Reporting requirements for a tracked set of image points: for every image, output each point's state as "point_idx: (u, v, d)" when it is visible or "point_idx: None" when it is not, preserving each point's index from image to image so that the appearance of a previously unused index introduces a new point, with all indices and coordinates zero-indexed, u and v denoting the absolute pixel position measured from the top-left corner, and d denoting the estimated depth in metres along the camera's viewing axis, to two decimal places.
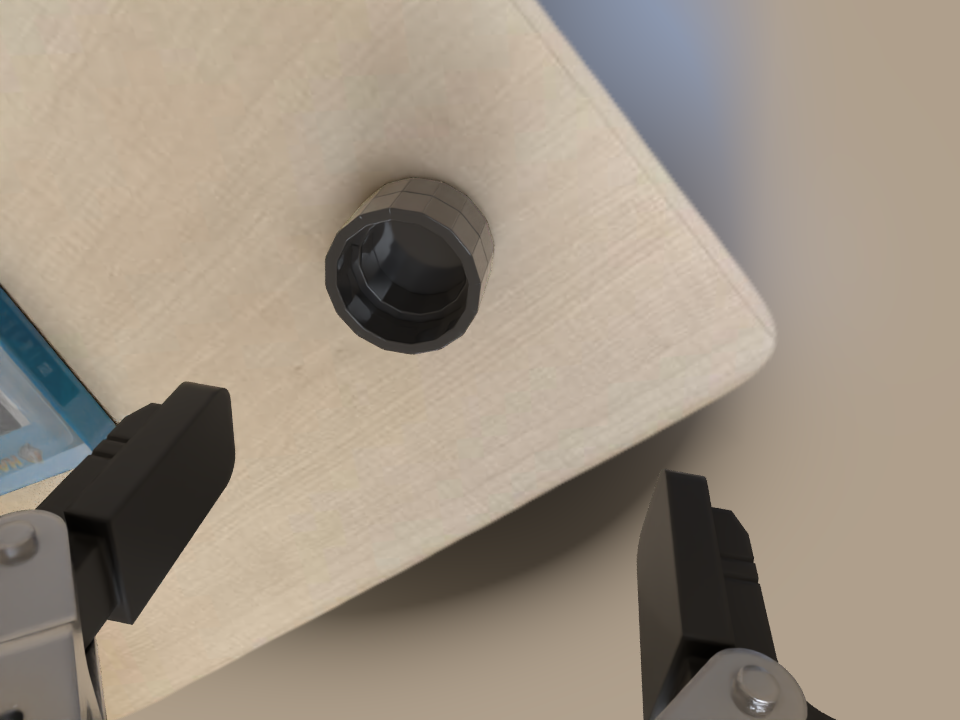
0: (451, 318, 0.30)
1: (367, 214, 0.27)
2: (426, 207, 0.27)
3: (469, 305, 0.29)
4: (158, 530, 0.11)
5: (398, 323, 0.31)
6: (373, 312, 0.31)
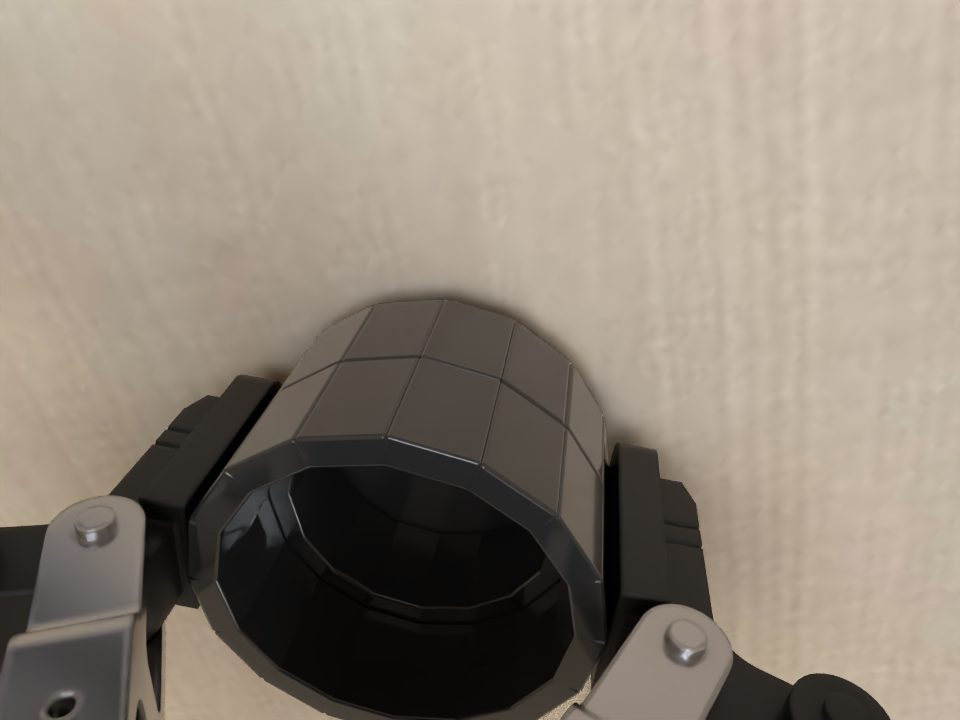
0: None
1: (189, 564, 0.11)
2: (246, 439, 0.10)
3: (524, 521, 0.09)
4: None
5: (525, 624, 0.13)
6: (469, 647, 0.13)
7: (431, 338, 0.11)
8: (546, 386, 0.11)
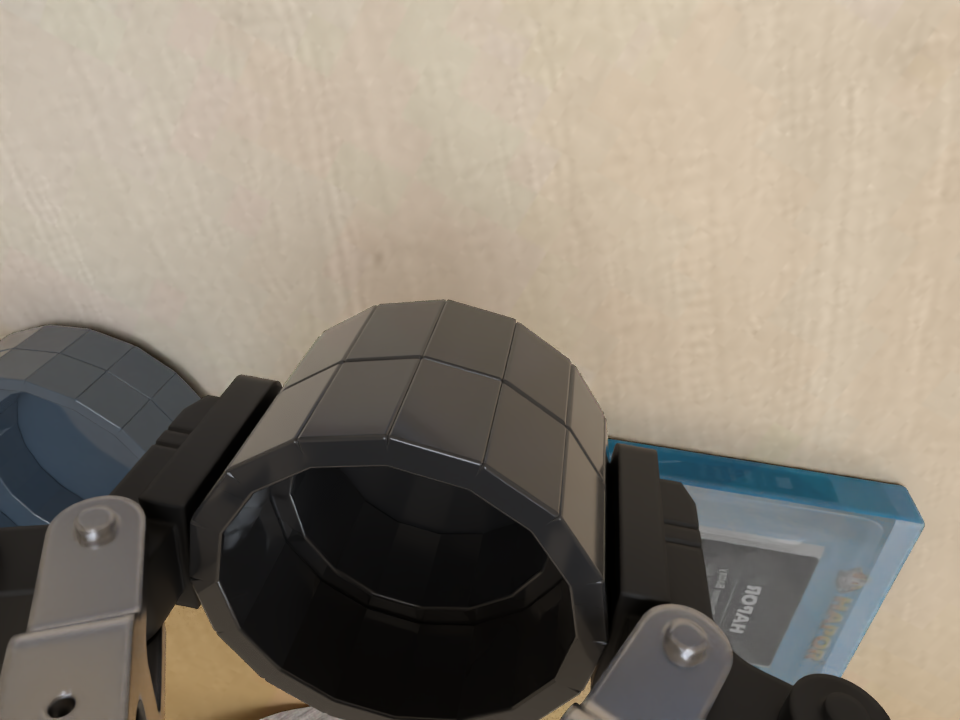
0: None
1: (190, 565, 0.11)
2: (248, 440, 0.10)
3: (526, 521, 0.09)
4: None
5: (526, 624, 0.13)
6: (470, 648, 0.13)
7: (432, 339, 0.11)
8: (547, 387, 0.11)
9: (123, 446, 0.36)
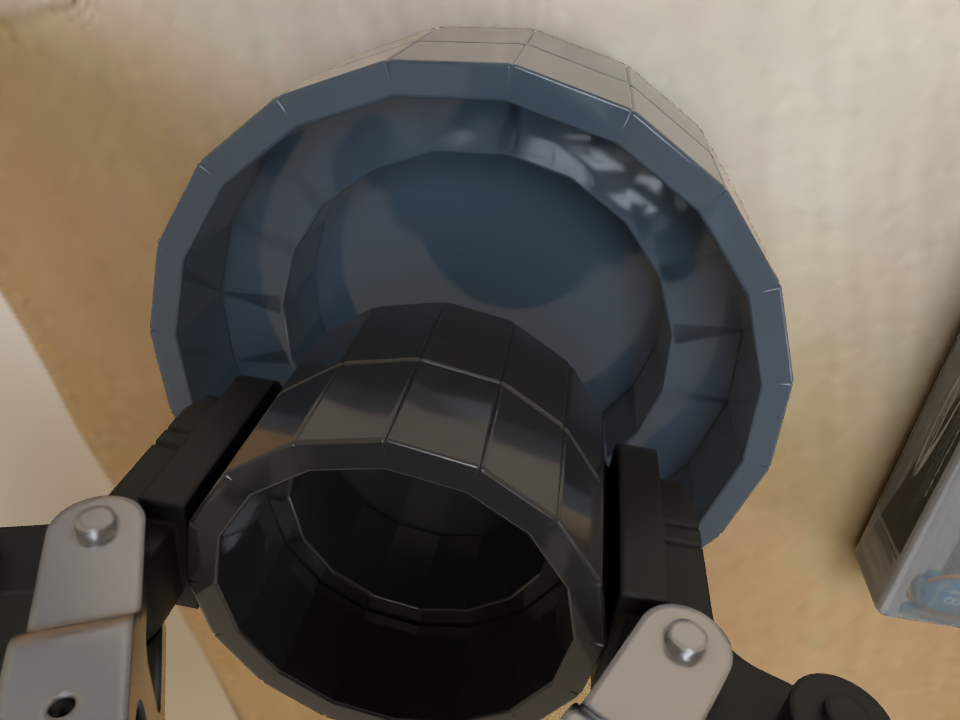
0: None
1: (189, 567, 0.11)
2: (246, 442, 0.10)
3: (524, 523, 0.09)
4: None
5: (524, 626, 0.13)
6: (468, 649, 0.13)
7: (431, 341, 0.11)
8: (545, 389, 0.11)
9: (520, 308, 0.19)
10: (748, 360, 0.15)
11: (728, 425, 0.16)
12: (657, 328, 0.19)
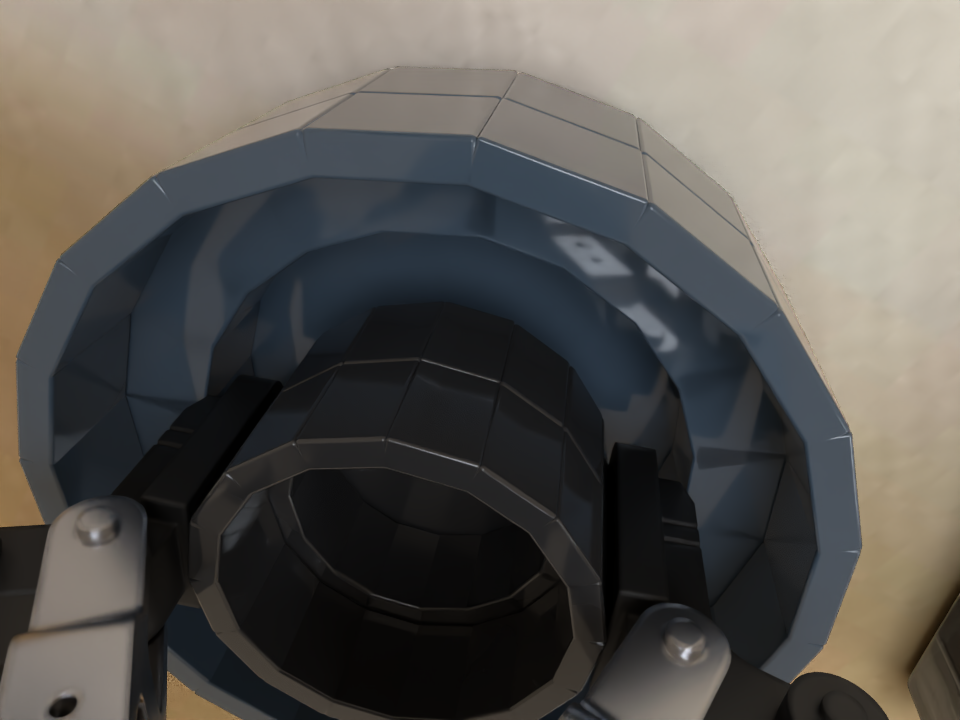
0: None
1: (189, 566, 0.11)
2: (247, 441, 0.10)
3: (524, 522, 0.09)
4: None
5: (524, 625, 0.13)
6: (468, 648, 0.13)
7: (431, 340, 0.11)
8: (546, 388, 0.11)
9: None
10: (796, 504, 0.12)
11: (766, 574, 0.13)
12: (672, 432, 0.15)
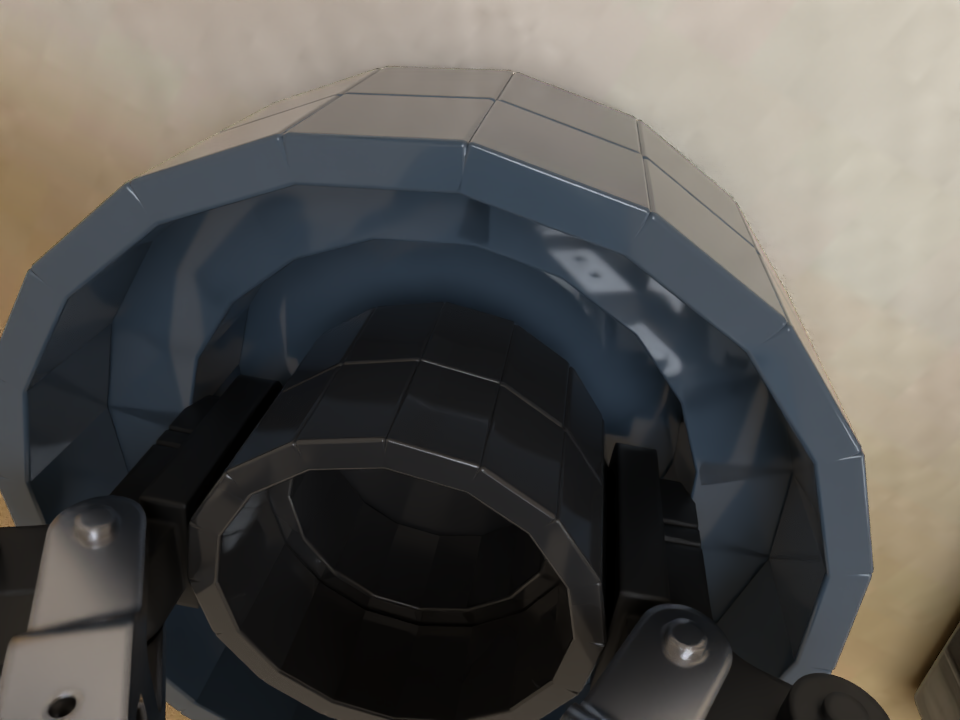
0: None
1: (189, 566, 0.11)
2: (246, 442, 0.10)
3: (524, 522, 0.09)
4: None
5: (524, 626, 0.13)
6: (468, 649, 0.13)
7: (431, 341, 0.11)
8: (545, 389, 0.11)
9: None
10: (803, 522, 0.11)
11: (772, 594, 0.12)
12: (674, 443, 0.15)
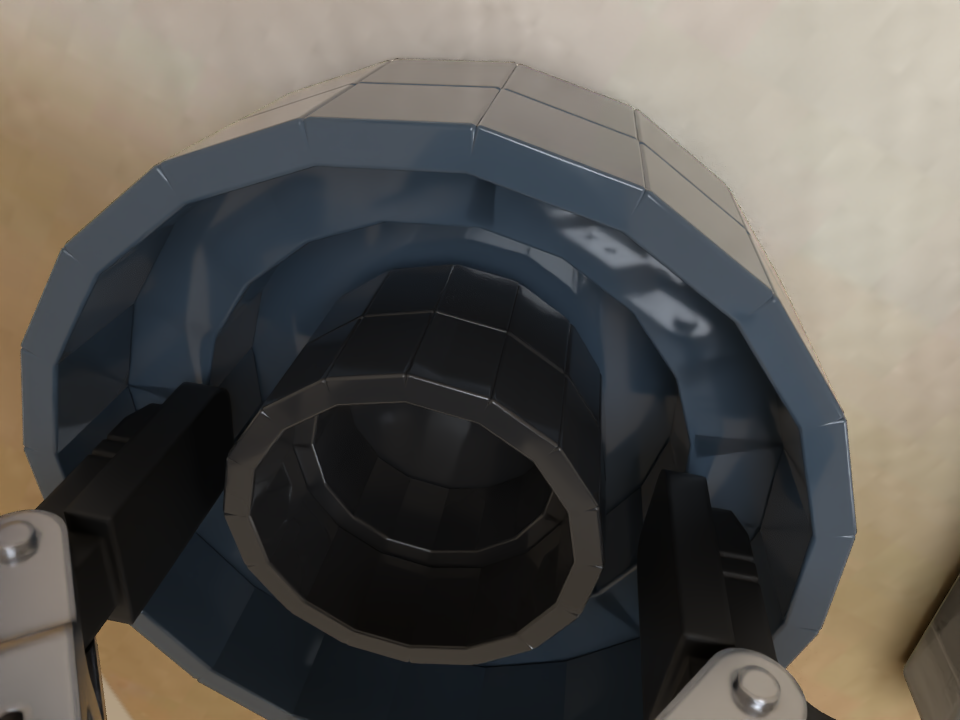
0: None
1: (225, 500, 0.12)
2: (278, 385, 0.11)
3: (529, 451, 0.10)
4: (158, 530, 0.11)
5: (529, 563, 0.14)
6: (477, 586, 0.14)
7: (443, 296, 0.12)
8: (548, 340, 0.12)
9: None
10: (792, 490, 0.12)
11: (763, 561, 0.13)
12: (670, 422, 0.15)
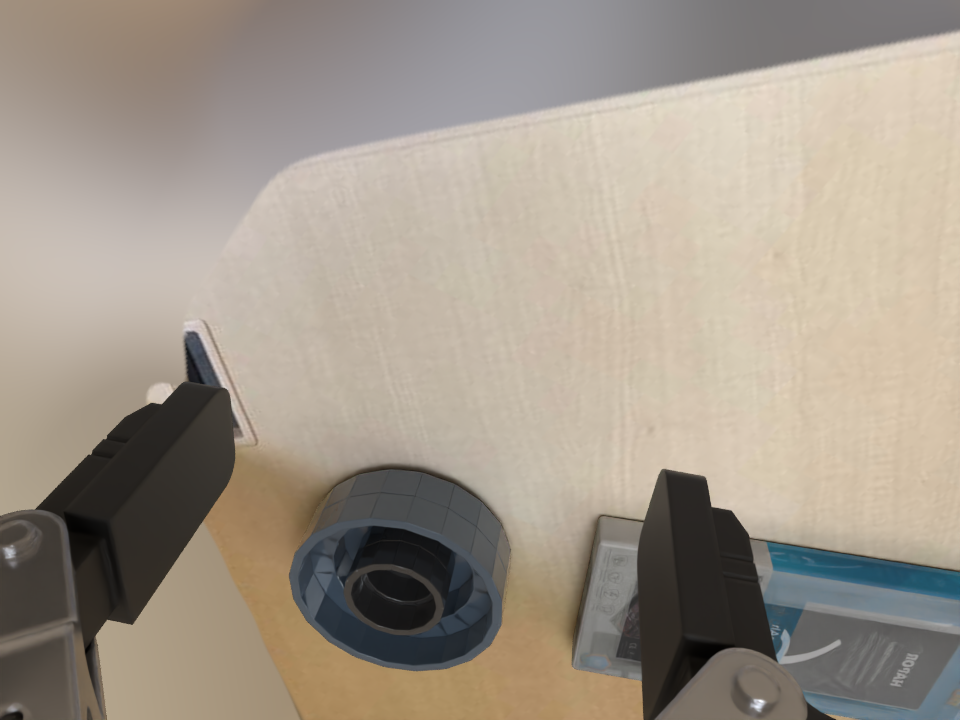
0: None
1: (344, 590, 0.44)
2: (359, 561, 0.44)
3: (422, 581, 0.43)
4: (157, 530, 0.11)
5: (429, 605, 0.46)
6: (414, 612, 0.47)
7: (403, 534, 0.45)
8: (432, 545, 0.45)
9: None
10: None
11: None
12: None
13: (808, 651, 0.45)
